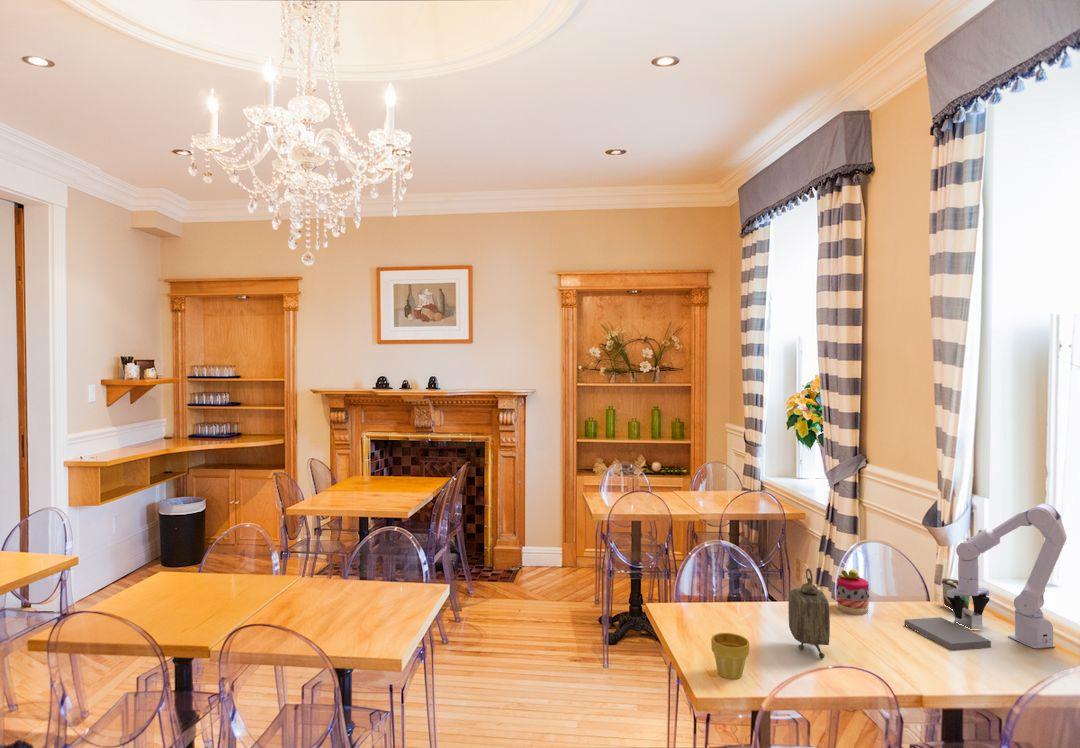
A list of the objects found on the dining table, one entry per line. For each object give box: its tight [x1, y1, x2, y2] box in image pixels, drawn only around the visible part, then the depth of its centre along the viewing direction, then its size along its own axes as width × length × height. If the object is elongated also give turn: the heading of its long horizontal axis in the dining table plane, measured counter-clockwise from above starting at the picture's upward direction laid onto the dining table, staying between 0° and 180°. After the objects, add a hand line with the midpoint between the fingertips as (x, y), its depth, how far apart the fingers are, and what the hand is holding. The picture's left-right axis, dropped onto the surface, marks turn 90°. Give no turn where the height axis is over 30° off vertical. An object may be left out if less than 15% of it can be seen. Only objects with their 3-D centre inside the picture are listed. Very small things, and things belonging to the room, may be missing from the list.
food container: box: [941, 577, 971, 609], centre depth 232 cm, size 12×6×10 cm, turn 179°
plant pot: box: [710, 632, 750, 680], centre depth 182 cm, size 10×10×10 cm
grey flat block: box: [904, 616, 992, 651], centre depth 209 cm, size 20×14×2 cm
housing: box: [954, 608, 983, 630], centre depth 218 cm, size 8×4×5 cm, turn 10°
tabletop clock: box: [788, 567, 831, 659], centre depth 198 cm, size 14×9×25 cm, turn 170°
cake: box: [836, 569, 870, 616], centre depth 232 cm, size 10×11×15 cm
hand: (968, 617), depth 217 cm, fingers open, 7 cm apart
